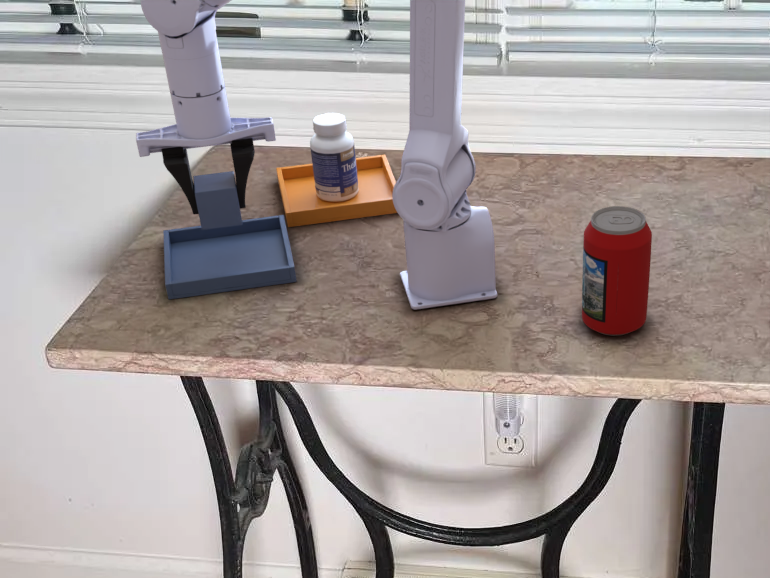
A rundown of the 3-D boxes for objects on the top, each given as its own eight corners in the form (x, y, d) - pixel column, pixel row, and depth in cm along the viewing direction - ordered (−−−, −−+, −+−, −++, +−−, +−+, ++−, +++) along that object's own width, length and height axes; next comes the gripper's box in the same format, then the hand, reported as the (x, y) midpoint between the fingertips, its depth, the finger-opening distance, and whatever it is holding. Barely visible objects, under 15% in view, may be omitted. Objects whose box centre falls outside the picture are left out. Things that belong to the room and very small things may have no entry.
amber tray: (386, 167, 155) (385, 154, 154) (403, 212, 145) (402, 197, 144) (278, 181, 153) (276, 167, 152) (287, 227, 143) (285, 213, 142)
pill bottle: (352, 204, 146) (344, 128, 140) (310, 202, 147) (301, 126, 141) (364, 185, 150) (356, 111, 144) (323, 183, 151) (314, 109, 145)
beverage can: (580, 306, 127) (583, 203, 119) (644, 306, 126) (651, 202, 118) (581, 340, 121) (584, 234, 114) (648, 340, 121) (655, 234, 113)
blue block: (240, 207, 135) (233, 170, 132) (242, 225, 132) (236, 187, 129) (200, 212, 135) (193, 175, 132) (201, 230, 131) (194, 192, 128)
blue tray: (285, 228, 143) (283, 214, 142) (296, 281, 133) (294, 266, 132) (166, 244, 141) (163, 230, 140) (168, 299, 131) (165, 284, 130)
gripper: (263, 66, 128) (281, 184, 136) (127, 81, 126) (153, 200, 134) (269, 90, 123) (286, 210, 131) (126, 106, 120) (153, 228, 129)
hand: (219, 207), depth 132 cm, fingers closed on blue block, 4 cm apart
